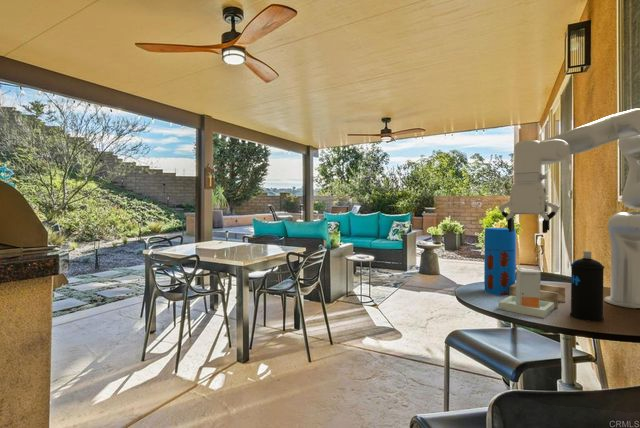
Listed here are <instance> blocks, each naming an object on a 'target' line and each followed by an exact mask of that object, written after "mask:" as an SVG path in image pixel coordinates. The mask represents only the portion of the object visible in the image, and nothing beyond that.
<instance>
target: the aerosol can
mask: <svg viewBox="0 0 640 428" xmlns="http://www.w3.org/2000/svg"><path fill="white" fill-rule="evenodd" d="M582 253H583V257H581V258H578V259H576V260H573V262H572V263H570V264H569V265H570V268H571V273H570V276H571V280H570V284H571V285H570V313H569V315H570V317H572V318H574V319H576V320H577V319H578V320H581V321H585V322H586V321H587V322H593V323H594V322H596V323H597V322H604V320H605V318H604V271H605V270H604V269H605V268H606V267H605V266H604V265H603V264H602V263H601V262H599V261H598V260H596V259H593V258H592V251H589V250H588V251H587V250H585V251H583V252H582Z"/></svg>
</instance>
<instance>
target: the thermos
mask: <svg viewBox="0 0 640 428" xmlns="http://www.w3.org/2000/svg"><path fill="white" fill-rule="evenodd" d="M516 236H517V232H516V229H515V228H514V231H513V232H509V229H508V228H507V227H486V228H484V258H483V259H484V265H483V266H484V274H483V275H484V276H483V277H484V279H483V280H484V281H483V284H484V292H485V291H486V292H485V293H487V294H490V295H494V294H495V295H494V296H503V295H509V286H511V285H513V284H515V283H516V270H517V269H516V262H517V261H516V258H517V257H516V256H517V253H516V251H517V250H516V248H517V237H516Z"/></svg>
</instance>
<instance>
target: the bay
mask: <svg viewBox="0 0 640 428" xmlns="http://www.w3.org/2000/svg"><path fill="white" fill-rule="evenodd" d="M510 295H511V296H516V282H515V284H513V285H511V286H509V296H510ZM509 296H508V297H509ZM540 300H541V301H548V302H554V309H559V302H562V303H565V302H566V287H565V286H559V285H558V286H557V285H550V284H549V285H548V284H544V283H543V284H542V283H540Z"/></svg>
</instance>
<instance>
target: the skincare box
mask: <svg viewBox="0 0 640 428" xmlns="http://www.w3.org/2000/svg"><path fill="white" fill-rule="evenodd" d="M541 274H542V273H541V271H539V270H536V269H516V273H515V283H516V305H522V306H527V307H533V308H538V309H540V284H541V277H542V275H541Z"/></svg>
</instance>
